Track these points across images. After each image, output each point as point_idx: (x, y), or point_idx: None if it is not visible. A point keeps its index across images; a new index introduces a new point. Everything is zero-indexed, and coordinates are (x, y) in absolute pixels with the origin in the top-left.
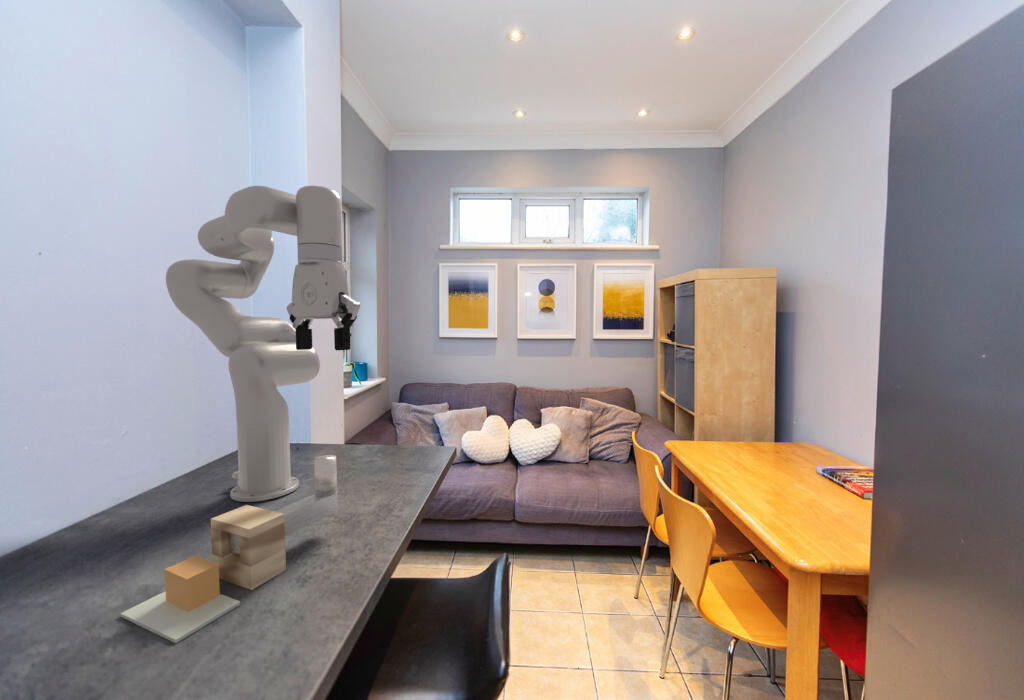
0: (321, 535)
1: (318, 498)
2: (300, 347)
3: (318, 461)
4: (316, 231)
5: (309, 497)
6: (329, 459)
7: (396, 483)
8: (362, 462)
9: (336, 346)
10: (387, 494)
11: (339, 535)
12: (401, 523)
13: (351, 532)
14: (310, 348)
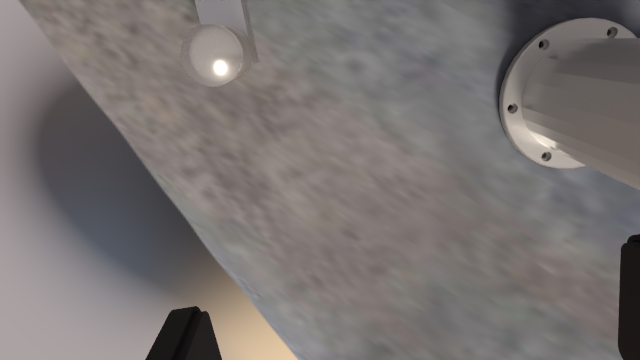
0: None
1: (211, 21)
2: (632, 257)
3: (198, 26)
4: None
5: (235, 11)
6: (184, 53)
7: (335, 281)
8: (523, 328)
9: (169, 321)
10: (300, 232)
11: None
12: (156, 155)
13: None
14: (618, 338)
